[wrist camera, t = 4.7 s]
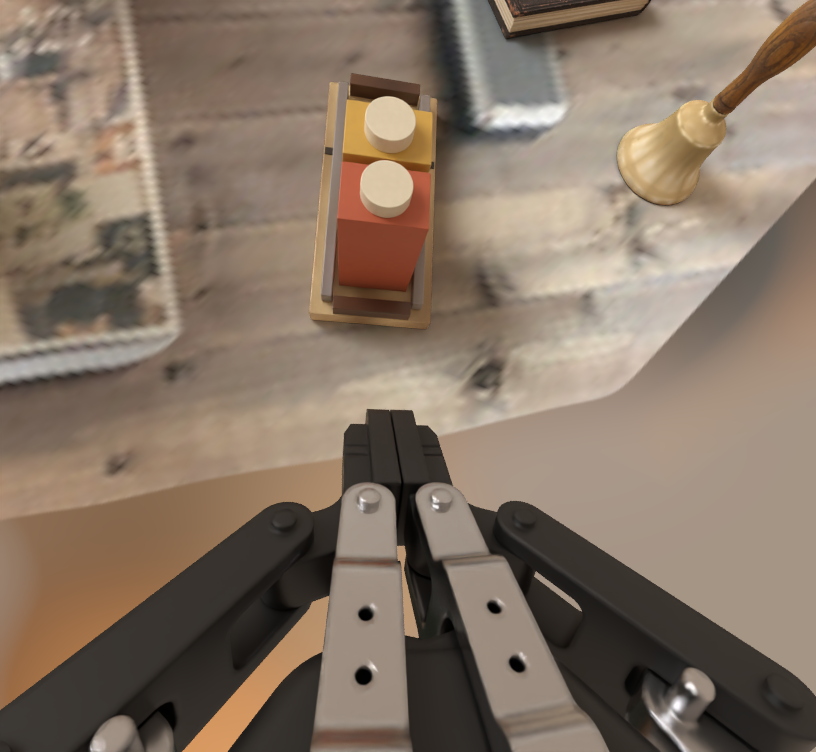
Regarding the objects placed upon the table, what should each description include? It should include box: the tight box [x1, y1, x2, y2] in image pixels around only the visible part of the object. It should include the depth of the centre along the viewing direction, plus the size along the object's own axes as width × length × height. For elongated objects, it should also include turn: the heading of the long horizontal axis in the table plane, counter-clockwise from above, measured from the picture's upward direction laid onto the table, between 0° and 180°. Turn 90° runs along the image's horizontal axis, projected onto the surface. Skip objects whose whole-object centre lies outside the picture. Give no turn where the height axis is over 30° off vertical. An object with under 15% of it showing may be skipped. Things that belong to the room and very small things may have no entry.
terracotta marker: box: [337, 160, 431, 292], centre depth 27 cm, size 5×4×10 cm
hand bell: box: [617, 0, 816, 205], centre depth 32 cm, size 8×8×16 cm
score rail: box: [309, 73, 437, 329], centre depth 33 cm, size 9×20×3 cm, turn 178°
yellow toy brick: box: [342, 96, 433, 173], centre depth 28 cm, size 5×4×10 cm
